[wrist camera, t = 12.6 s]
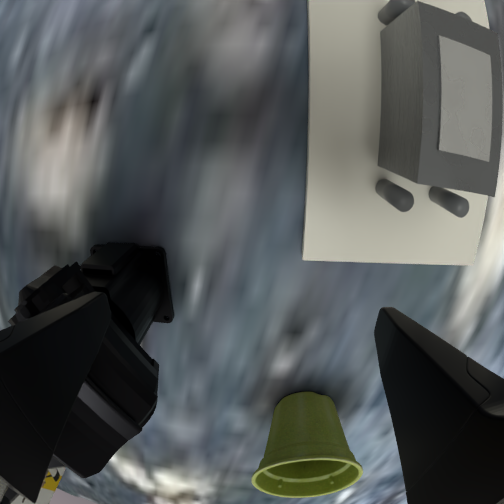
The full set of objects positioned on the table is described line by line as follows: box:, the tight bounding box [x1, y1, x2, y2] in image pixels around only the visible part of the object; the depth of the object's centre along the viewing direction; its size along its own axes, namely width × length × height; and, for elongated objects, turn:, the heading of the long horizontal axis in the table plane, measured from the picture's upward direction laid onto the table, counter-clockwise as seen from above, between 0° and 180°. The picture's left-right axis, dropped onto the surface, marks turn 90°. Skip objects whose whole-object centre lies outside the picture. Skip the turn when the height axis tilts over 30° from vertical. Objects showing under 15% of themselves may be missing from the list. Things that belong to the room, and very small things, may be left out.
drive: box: [377, 1, 502, 197], centre depth 13 cm, size 9×5×6 cm, turn 179°
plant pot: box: [252, 392, 363, 498], centre depth 24 cm, size 9×9×9 cm
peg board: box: [302, 0, 489, 265], centre depth 14 cm, size 22×14×4 cm, turn 0°
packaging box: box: [11, 467, 65, 504], centre depth 32 cm, size 16×16×25 cm
